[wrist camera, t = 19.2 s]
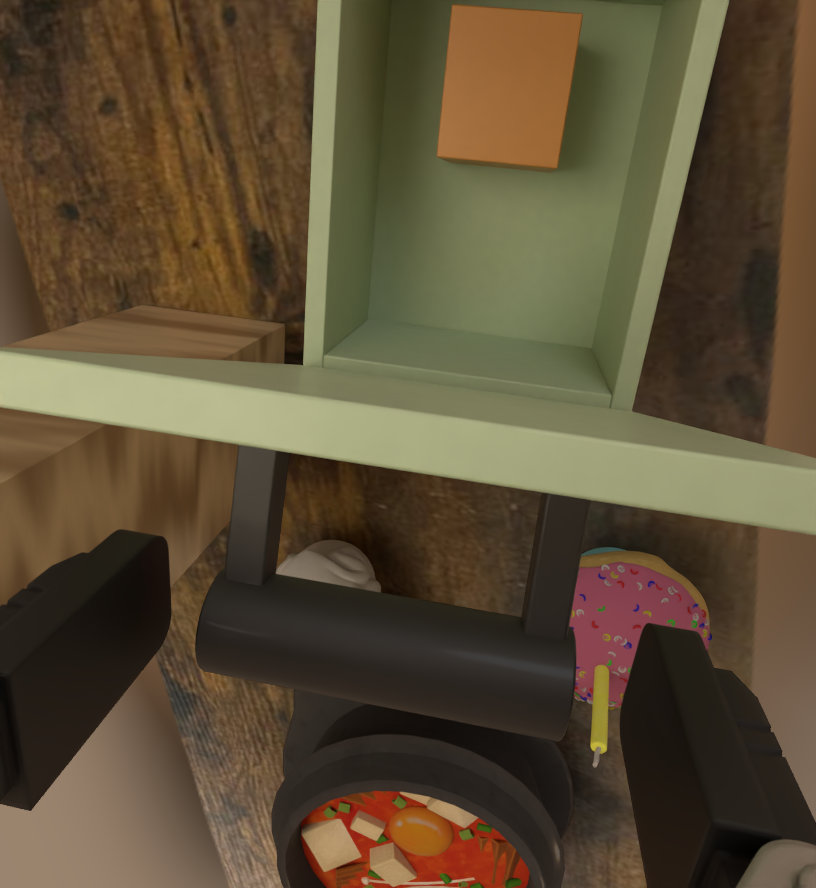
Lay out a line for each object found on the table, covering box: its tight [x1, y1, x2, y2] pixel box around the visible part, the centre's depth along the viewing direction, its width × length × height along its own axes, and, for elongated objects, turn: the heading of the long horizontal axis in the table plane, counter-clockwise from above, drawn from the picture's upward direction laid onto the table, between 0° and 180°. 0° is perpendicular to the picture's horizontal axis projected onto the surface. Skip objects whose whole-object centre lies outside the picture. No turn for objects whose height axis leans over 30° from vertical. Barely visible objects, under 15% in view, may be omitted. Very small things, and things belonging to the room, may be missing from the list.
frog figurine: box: [276, 540, 381, 592], centre depth 36 cm, size 6×7×7 cm
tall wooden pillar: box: [0, 305, 285, 606], centre depth 26 cm, size 8×8×22 cm
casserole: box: [272, 689, 574, 888], centre depth 40 cm, size 25×19×8 cm
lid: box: [0, 347, 816, 741], centre depth 17 cm, size 16×13×5 cm
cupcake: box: [569, 547, 712, 767], centre depth 31 cm, size 9×8×12 cm
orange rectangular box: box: [436, 4, 583, 173], centre depth 26 cm, size 5×5×5 cm
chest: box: [303, 0, 729, 412], centre depth 26 cm, size 16×13×9 cm
